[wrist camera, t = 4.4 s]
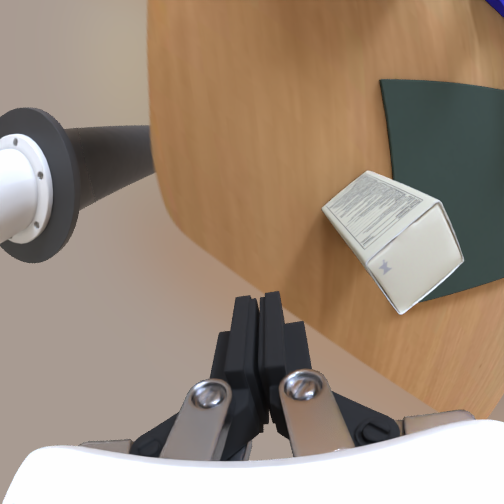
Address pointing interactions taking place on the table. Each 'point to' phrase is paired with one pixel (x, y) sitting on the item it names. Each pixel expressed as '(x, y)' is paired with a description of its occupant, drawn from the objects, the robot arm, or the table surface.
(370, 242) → the printed medicine box
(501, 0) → the cable clip
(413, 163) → the mat
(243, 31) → the table surface
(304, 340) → the robot arm
